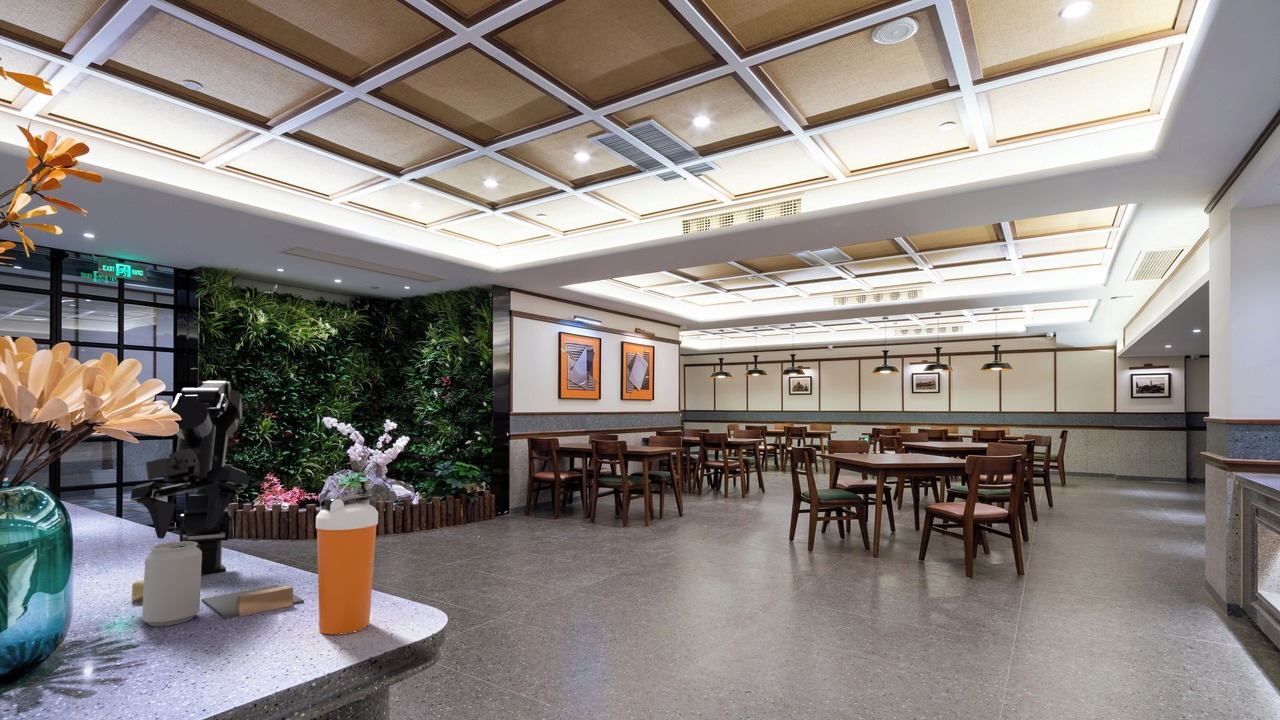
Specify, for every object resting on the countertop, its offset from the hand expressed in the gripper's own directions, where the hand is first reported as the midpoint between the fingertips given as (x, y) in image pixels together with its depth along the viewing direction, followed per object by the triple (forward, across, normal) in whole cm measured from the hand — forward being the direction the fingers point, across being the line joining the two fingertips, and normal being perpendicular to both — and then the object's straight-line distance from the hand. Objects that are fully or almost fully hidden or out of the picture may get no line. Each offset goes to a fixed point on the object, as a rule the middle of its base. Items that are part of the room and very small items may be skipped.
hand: (185, 533), depth 116 cm
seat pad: (+14, +11, +5) cm, 18 cm away
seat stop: (+16, +15, +2) cm, 22 cm away
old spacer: (+9, -9, +5) cm, 14 cm away
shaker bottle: (+22, +32, -4) cm, 39 cm away
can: (+16, +3, -5) cm, 17 cm away
